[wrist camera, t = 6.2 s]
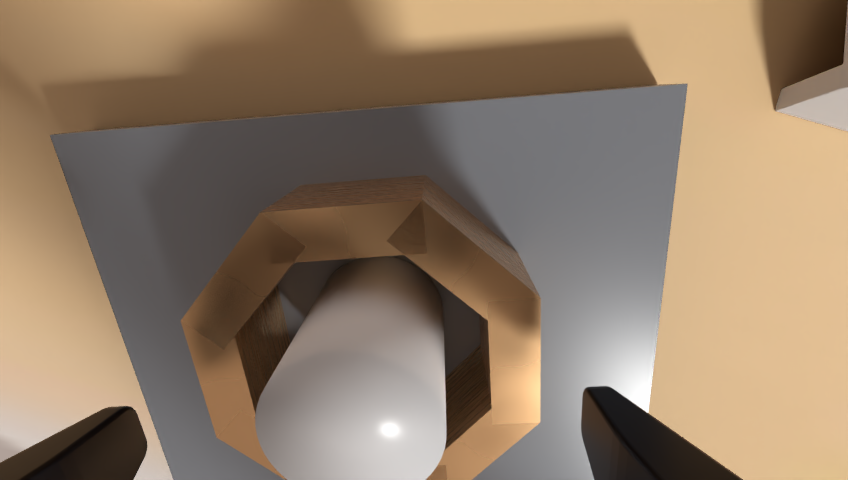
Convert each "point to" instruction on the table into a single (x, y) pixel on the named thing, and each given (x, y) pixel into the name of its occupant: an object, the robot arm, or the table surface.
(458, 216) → the ring
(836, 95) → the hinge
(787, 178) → the table surface
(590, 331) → the base
